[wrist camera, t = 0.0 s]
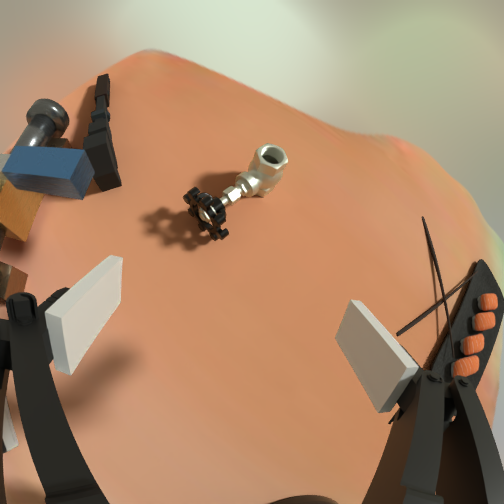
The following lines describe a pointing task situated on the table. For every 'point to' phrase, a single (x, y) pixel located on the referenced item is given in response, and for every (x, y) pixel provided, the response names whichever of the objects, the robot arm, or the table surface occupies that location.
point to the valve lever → (48, 170)
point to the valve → (238, 189)
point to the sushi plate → (468, 325)
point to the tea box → (8, 431)
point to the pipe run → (26, 202)
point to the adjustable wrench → (102, 140)
